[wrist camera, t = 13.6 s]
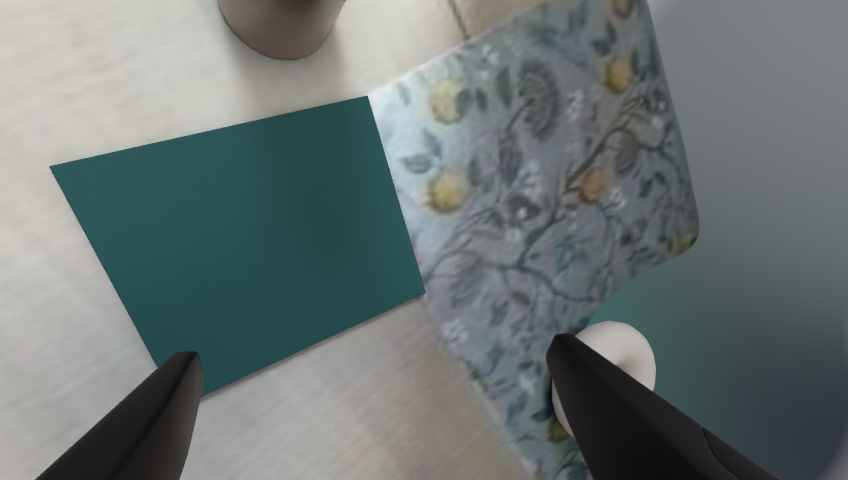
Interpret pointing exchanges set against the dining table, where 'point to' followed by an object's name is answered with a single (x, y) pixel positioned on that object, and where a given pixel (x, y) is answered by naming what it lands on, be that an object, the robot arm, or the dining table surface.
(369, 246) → the napkin
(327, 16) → the pepper mill
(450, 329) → the dining table surface
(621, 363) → the donut
